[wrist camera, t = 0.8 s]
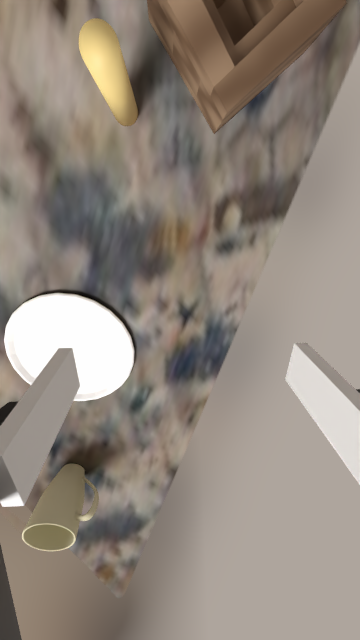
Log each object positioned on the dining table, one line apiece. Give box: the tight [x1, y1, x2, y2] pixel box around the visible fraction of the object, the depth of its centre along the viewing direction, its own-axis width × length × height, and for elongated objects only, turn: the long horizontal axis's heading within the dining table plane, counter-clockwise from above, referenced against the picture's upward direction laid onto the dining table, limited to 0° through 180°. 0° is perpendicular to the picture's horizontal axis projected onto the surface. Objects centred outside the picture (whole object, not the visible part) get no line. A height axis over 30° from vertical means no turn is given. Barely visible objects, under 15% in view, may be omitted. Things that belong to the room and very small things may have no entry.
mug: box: [22, 464, 99, 551], centre depth 47 cm, size 11×10×12 cm
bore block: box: [147, 0, 346, 134], centre depth 23 cm, size 12×12×7 cm
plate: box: [4, 293, 134, 401], centre depth 40 cm, size 21×21×1 cm
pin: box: [79, 19, 138, 126], centre depth 22 cm, size 3×3×12 cm
